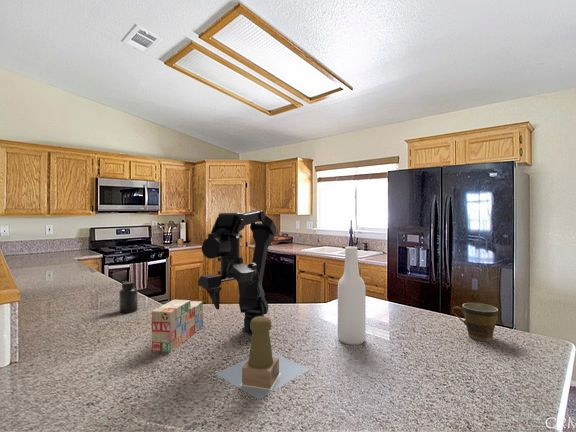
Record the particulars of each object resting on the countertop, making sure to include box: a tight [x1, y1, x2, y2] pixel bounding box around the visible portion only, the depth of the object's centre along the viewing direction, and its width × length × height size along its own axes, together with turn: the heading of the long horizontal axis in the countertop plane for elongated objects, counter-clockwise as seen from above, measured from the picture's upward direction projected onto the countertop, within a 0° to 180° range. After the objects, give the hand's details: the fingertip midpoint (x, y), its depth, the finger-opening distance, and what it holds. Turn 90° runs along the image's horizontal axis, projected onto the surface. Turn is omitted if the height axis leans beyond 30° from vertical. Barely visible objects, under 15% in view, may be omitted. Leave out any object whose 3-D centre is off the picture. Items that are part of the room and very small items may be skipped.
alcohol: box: [337, 245, 367, 346], centre depth 99 cm, size 9×9×30 cm
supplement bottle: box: [118, 281, 139, 314], centre depth 130 cm, size 7×7×12 cm
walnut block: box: [242, 357, 279, 389], centre depth 75 cm, size 7×7×4 cm
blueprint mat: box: [214, 352, 310, 400], centre depth 79 cm, size 18×16×1 cm
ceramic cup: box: [451, 302, 499, 343], centre depth 101 cm, size 13×10×10 cm
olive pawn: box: [248, 315, 273, 369], centre depth 75 cm, size 6×6×11 cm
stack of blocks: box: [151, 299, 204, 353], centre depth 102 cm, size 21×6×12 cm, turn 169°
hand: (230, 305), depth 93 cm, fingers open, 9 cm apart
